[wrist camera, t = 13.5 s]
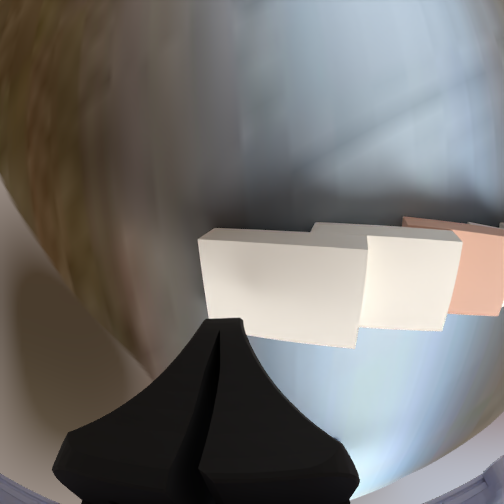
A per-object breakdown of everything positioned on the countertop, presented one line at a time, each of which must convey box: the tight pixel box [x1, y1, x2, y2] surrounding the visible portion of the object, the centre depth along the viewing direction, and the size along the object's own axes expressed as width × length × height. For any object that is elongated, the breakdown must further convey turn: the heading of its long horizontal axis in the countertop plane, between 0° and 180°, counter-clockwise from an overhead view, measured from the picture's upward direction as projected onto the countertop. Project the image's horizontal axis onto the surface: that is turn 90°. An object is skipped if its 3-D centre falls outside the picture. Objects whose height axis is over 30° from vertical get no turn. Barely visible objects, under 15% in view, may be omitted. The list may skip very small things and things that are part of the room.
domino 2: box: [311, 222, 463, 331], centre depth 14 cm, size 2×5×8 cm
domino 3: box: [402, 216, 504, 316], centre depth 14 cm, size 2×5×8 cm
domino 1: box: [198, 228, 368, 349], centre depth 14 cm, size 2×5×8 cm
